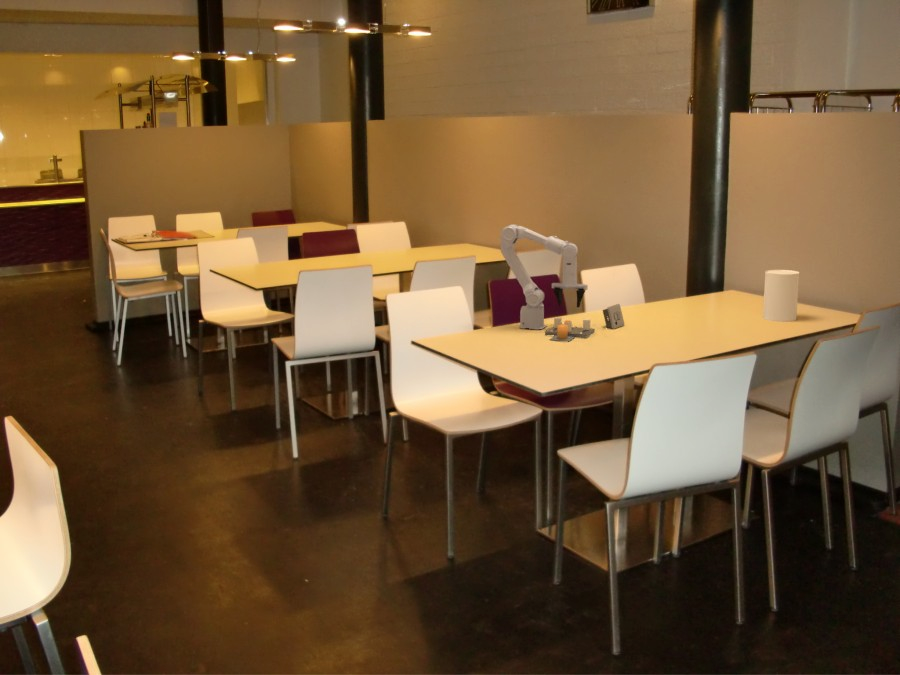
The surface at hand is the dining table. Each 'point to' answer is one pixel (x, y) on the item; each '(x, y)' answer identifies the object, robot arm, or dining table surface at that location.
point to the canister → (780, 295)
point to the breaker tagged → (568, 325)
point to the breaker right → (586, 324)
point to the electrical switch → (613, 316)
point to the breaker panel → (572, 332)
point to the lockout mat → (562, 339)
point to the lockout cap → (562, 331)
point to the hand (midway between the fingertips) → (569, 306)
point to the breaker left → (557, 321)
